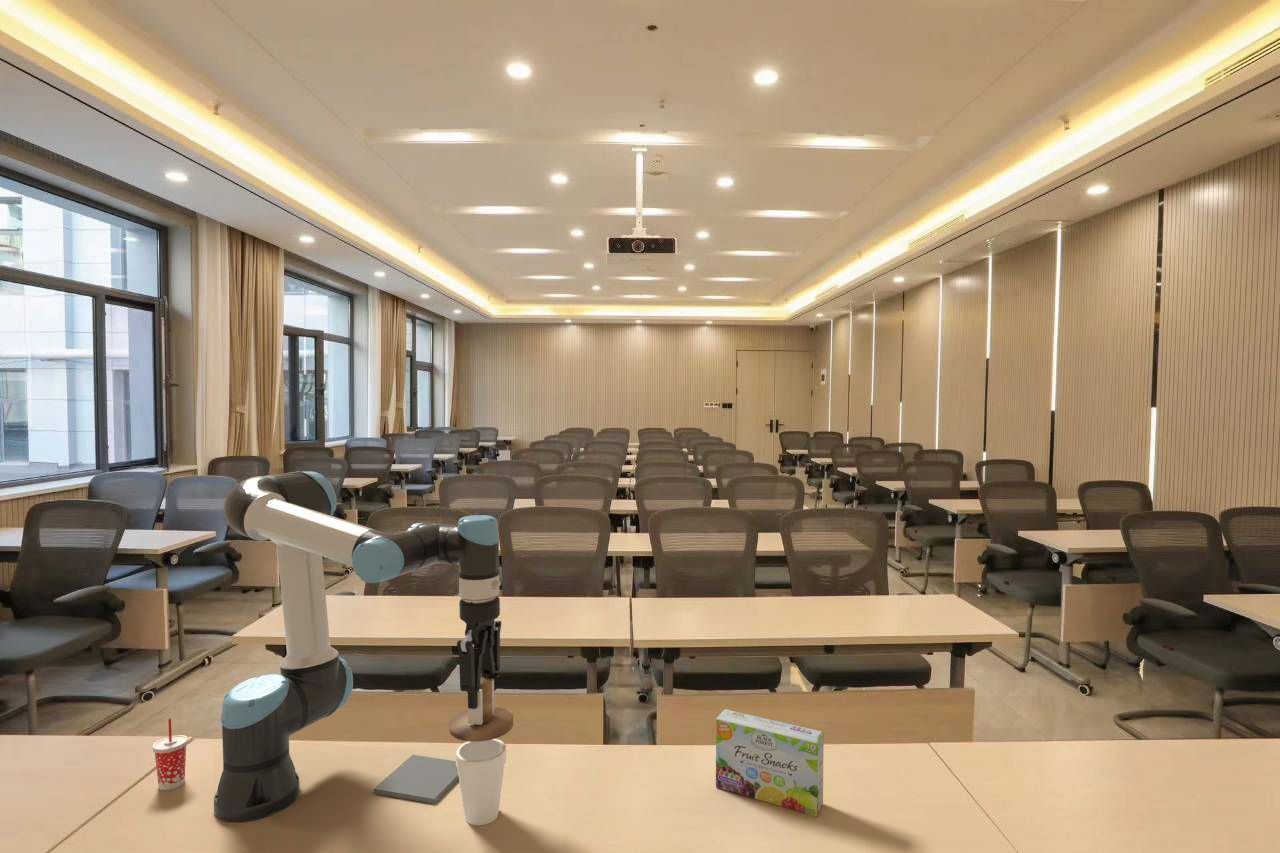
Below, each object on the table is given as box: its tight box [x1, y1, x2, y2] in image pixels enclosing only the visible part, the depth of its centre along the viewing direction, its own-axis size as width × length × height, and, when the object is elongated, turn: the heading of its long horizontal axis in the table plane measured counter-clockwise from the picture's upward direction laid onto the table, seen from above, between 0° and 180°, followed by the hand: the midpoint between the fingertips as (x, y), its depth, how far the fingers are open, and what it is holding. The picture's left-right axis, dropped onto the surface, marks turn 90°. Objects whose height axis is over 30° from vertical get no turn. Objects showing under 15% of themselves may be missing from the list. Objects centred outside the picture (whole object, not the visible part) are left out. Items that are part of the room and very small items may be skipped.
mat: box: [372, 754, 459, 804], centre depth 147 cm, size 14×14×1 cm
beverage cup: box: [152, 717, 189, 791], centre depth 145 cm, size 6×6×14 cm
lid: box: [448, 677, 514, 742], centre depth 134 cm, size 12×12×9 cm
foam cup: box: [455, 738, 507, 826], centre depth 134 cm, size 10×9×13 cm
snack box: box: [715, 708, 825, 817], centre depth 141 cm, size 21×6×15 cm, turn 62°
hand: (481, 717), depth 134 cm, fingers closed on lid, 4 cm apart
